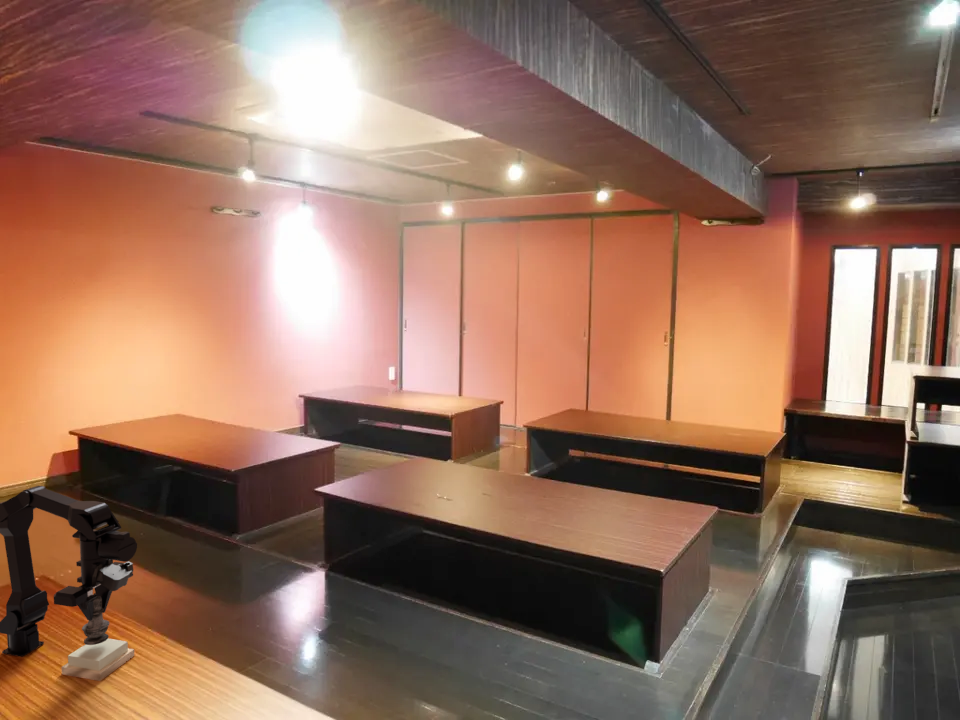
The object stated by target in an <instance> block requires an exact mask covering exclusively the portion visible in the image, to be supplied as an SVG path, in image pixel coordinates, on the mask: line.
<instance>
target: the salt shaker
mask: <svg viewBox="0 0 960 720" xmlns="http://www.w3.org/2000/svg"><path fill="white" fill-rule="evenodd" d="M93 595H96V593H95V592H94V593H93ZM103 611H104V609H103V608H102V598H101V597H100V596H97V597H96V598H95V599H94V601H93V619H92V620H91V621H90V620H87V621H88V622H87V623H85V624H84V625H83V626H82V628H81V630H82V632H83V634H84V636H85V637H86V638H85V639H84V641H83V644H84V645H85V644H86V645H95V644H99V643H102V642H104V641H106V640H107V639H108V638H109V634H108V633H106V632H107V631H108V628H109V626H110V621H109V620H108V619H104V617H103V615H104V613H103Z"/></svg>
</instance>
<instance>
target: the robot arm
mask: <svg viewBox="0 0 960 720" xmlns="http://www.w3.org/2000/svg"><path fill="white" fill-rule="evenodd" d="M35 509H39V510H40V511H44V512H46V513H49V514H52V515H55V516H57V517H60V518H63V519H64V520H66V521H67V522H68V525H69V526H70V527H72V528H73V529H75V530H77V531H76V532H74V533H73V534H72V536H71V537H72V538H75V539H79V555H80V558H79V560H77V561H76V567H80V576H78V577H77V578H76V581H77V583H80V584H81V585H80V586H72V585H67V586H65V587H63V588H61V589H60V590H57V591H56V592H55V593H54V594H53V604H54V605H58V606H65V607H71V608H74V607H78V608H79V610H80V611H81V612H82V614H83V615H84V617H85V619H86V620H87V621H88V620H90V621H91V620H92V619H93V601H94V599H95V598H96V597H97V596H100V597H101V598H102V608H103V609H104V611H103V614H104V613H105V612H106V610H107V607H108V604H109V602H110V598H111V596H112V593H113V592H116V591H118V590H119V589H121V588H123V587H125V586H126V585H128V581H129V578H131V577H133V576H134V563H133V562H131V561H130V560H131V559H132V558H133V557H134V556H135V554H136V552H137V549H138V543H137V541H136V539H135V538H134V537H132V536H131V535H130V534H131V533H130V532H129V531H119V530H121V529H122V526H121V525H120V523H119V520H118V519H117V518H116V516H115V514H114V513H113V511H112V510H111V508H110V507H109V505H108V504H107V503H105V502H102V501H96V500H78V499H74V498H72V497H70V496H67V495H64V494H61V493H59V492H55V491H53V490H50V489H47V488H46V486H43V485H36V486H33V487H30V488H27V489H23V490H22V491H21V492H19V493H17V494H16V495H14V496H13V497H11V498H9V499H7V500H5V501H2V502H0V535H2V536H3V540H4V547H5V553H6V561H7V567H8V574H9V579H10V580H9V581H10V588H11V594H9V595H10V596H9V598H8V600H7V602H6V603H5V604H6V606H5V607H6V608H5V611H6V612H5V613H6V614H5V615H4V617H3V618H2V619H1V620H0V634H2V635H3V634H5V635H6V639H7V647H6V648H5V649H3V650H1V651H2V654H3V653H4V654H3V655H9V656H15V657H20V658H21V657H24V656H26V655H28V654H29V653H31V652H33V651H34V650H36V649H37V648H39V647H41V646H43V645H45V642H44V641H41V640H40V633H39V629H38V628H39V627H38V623H39V622H41V621H44V620H45V616H46V614H47V613H46V612H48V611H49V609H48V607H49V606H50V603H49V601H48V592H47V590H41V589H40V588H39V587H38V585H37V583H36V578H35V572H34V564H33V557H32V552H31V544H30V538H29V530H30V527H31V525H32V523H33V520H34V510H35ZM106 525H107V526H106ZM103 526H104V527H103ZM101 527H102V528H101ZM93 592H94V593H96V595H93V594H94V593H93Z"/></svg>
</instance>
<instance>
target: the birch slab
mask: <svg viewBox="0 0 960 720" xmlns="http://www.w3.org/2000/svg"><path fill="white" fill-rule="evenodd" d="M133 656H134V657H135V649H134V648H129V647H128V651H127V652H126V653H124V654H123V655H121V656H120V657H119V658H117V659H116V660H114V661H113V662H111V663H110V664H109V665H107V666H106V667H104V668H103V669H101V670H100V671H97V670H91V669H86V668H80V667H75V666H69V665H68V662H67V663H66V664H64V665H62V666H61V675H64V676H71V677H77V678H83V679H87V680H91V681H92V680H94V681H98V682H101V681H102V680H104V679H105V678H107V677H108V676H109V675H110V674H112V673H113V672H114V671H116V670H117V669H118V668H120V667H121V666H122V665H124V664H125V663H127V662H129V660H131V659H132V658H133ZM130 658H131V659H130ZM126 661H127V662H126Z"/></svg>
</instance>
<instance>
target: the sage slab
mask: <svg viewBox="0 0 960 720" xmlns="http://www.w3.org/2000/svg"><path fill="white" fill-rule="evenodd" d="M128 648H129V644H128V641H125V640H120V639H113V638H109V637H108V639H107V640H106V641H104V642H102V643H99V644H95V645H86V644H84V645H82V646H81V647H79V648H78V649H76V650H75V651H73V652H71V653H70V654H69V655H67V660H68V661H67V663H68V665H69V666H75V667H80V668H86V669H91V670H97V671H100V670H101V669H103V668H104V667H106V666H107V665H109V664H110V663H111V662H113V661H114V660H116V659H117V658H119V657H120V656H121V655H123V654H124V653H126V652H127V651H128Z"/></svg>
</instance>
